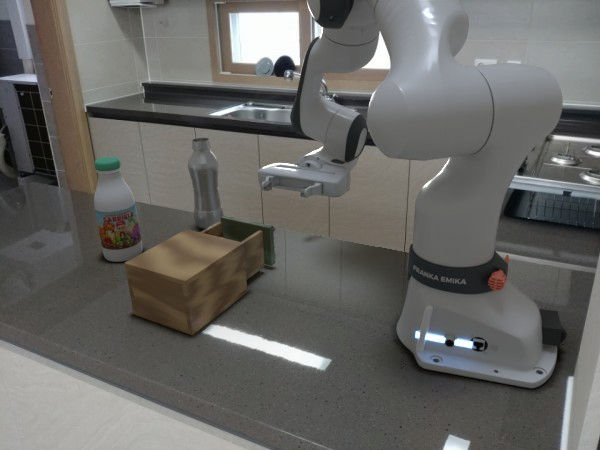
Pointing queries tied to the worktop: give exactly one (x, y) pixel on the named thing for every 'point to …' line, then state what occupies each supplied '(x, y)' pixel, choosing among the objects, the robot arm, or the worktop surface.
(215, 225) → the drawer
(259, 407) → the worktop surface
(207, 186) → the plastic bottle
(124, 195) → the milk bottle
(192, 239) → the cabinet
